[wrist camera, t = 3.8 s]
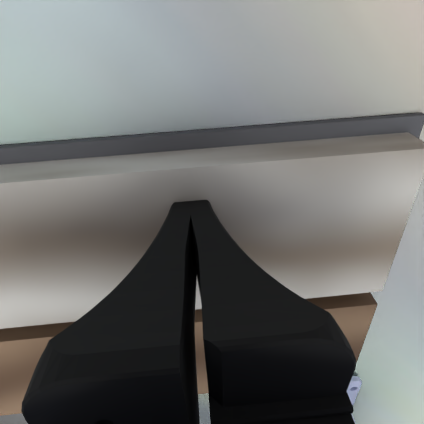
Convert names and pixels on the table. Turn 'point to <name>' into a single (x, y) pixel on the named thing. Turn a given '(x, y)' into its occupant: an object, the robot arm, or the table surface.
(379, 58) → the table surface
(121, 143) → the underlay mat
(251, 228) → the plank
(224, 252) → the robot arm
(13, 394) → the laid plank
